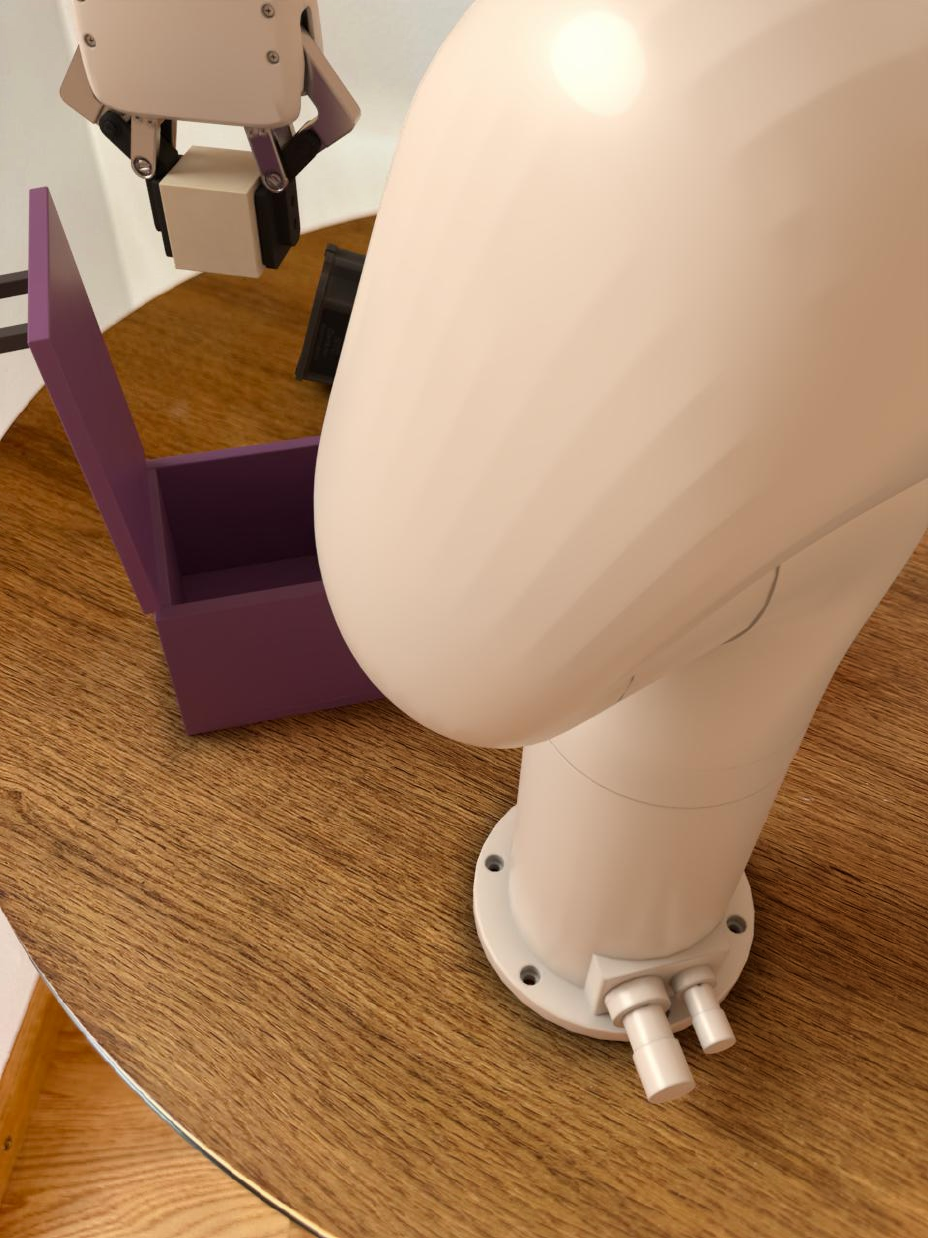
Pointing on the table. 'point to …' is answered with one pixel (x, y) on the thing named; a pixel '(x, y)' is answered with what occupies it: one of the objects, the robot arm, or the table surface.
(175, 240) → the block
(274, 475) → the box
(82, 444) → the lid
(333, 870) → the table surface
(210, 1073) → the table surface
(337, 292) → the magazine
